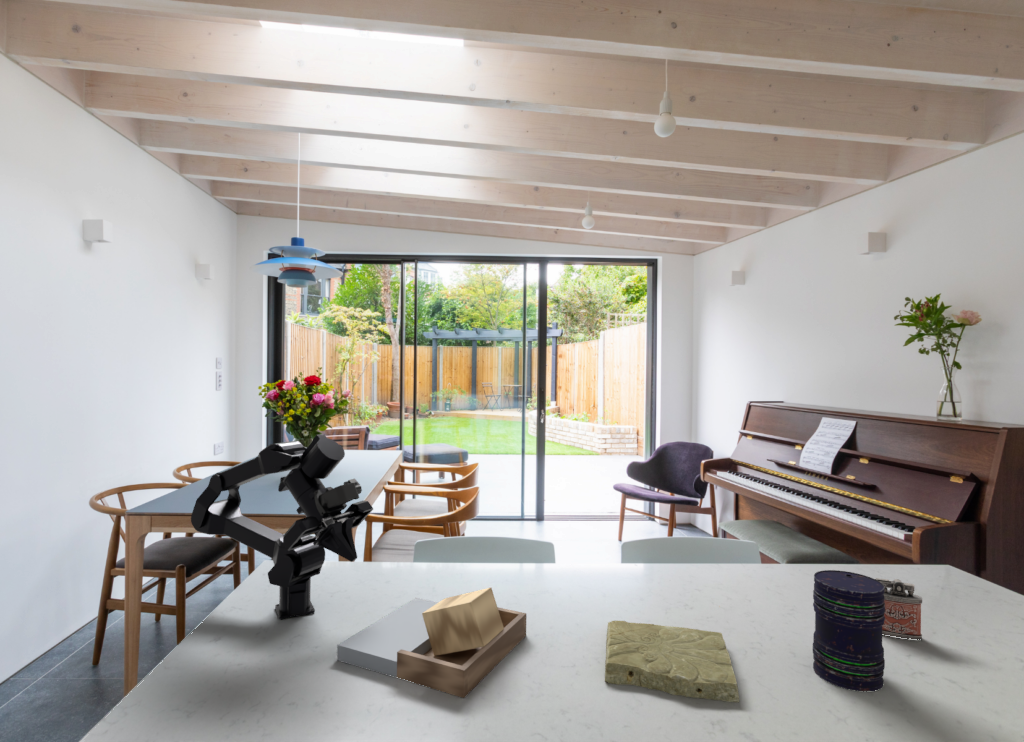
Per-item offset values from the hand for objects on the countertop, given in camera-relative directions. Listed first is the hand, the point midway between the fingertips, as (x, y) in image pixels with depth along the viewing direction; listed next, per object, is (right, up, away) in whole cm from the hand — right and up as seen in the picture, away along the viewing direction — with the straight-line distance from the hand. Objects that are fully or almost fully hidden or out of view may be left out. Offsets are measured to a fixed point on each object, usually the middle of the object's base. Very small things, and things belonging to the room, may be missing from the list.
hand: (354, 559), depth 105 cm
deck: (+11, -12, -5) cm, 17 cm away
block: (+17, -9, -8) cm, 21 cm away
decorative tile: (+54, -14, -13) cm, 58 cm away
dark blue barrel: (+82, -13, -15) cm, 85 cm away
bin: (+22, -12, -10) cm, 27 cm away
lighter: (+100, -14, -1) cm, 101 cm away
